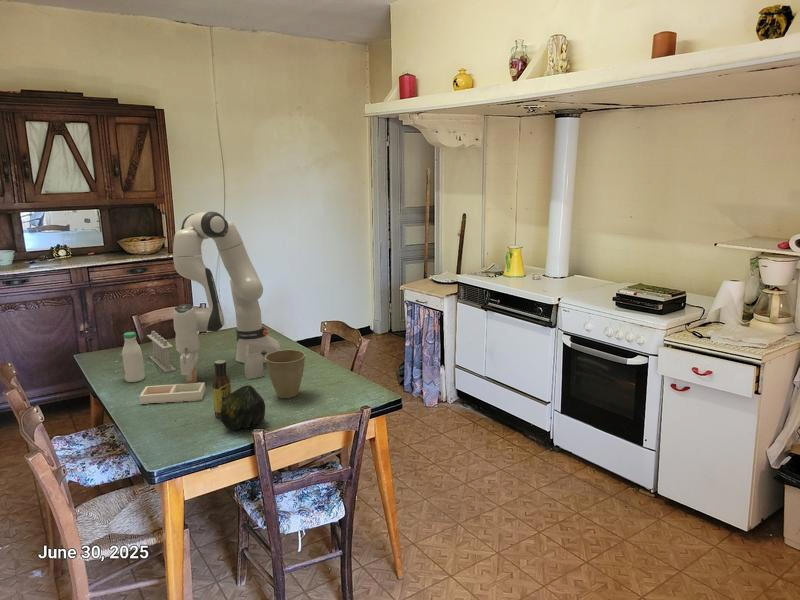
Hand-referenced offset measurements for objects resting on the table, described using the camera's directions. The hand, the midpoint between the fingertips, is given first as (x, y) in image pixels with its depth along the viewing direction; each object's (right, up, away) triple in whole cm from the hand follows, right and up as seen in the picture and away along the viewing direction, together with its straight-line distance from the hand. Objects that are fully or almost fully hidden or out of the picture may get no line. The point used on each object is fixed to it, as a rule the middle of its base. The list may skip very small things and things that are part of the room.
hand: (191, 377), depth 246 cm
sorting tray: (-2, -6, -13) cm, 15 cm away
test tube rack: (-22, +3, +25) cm, 33 cm away
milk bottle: (-26, -2, +7) cm, 27 cm away
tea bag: (+24, -1, +7) cm, 25 cm away
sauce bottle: (+22, -10, -30) cm, 38 cm away
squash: (+31, -12, -38) cm, 50 cm away
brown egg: (0, -2, 0) cm, 2 cm away
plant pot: (+41, -5, -13) cm, 44 cm away
